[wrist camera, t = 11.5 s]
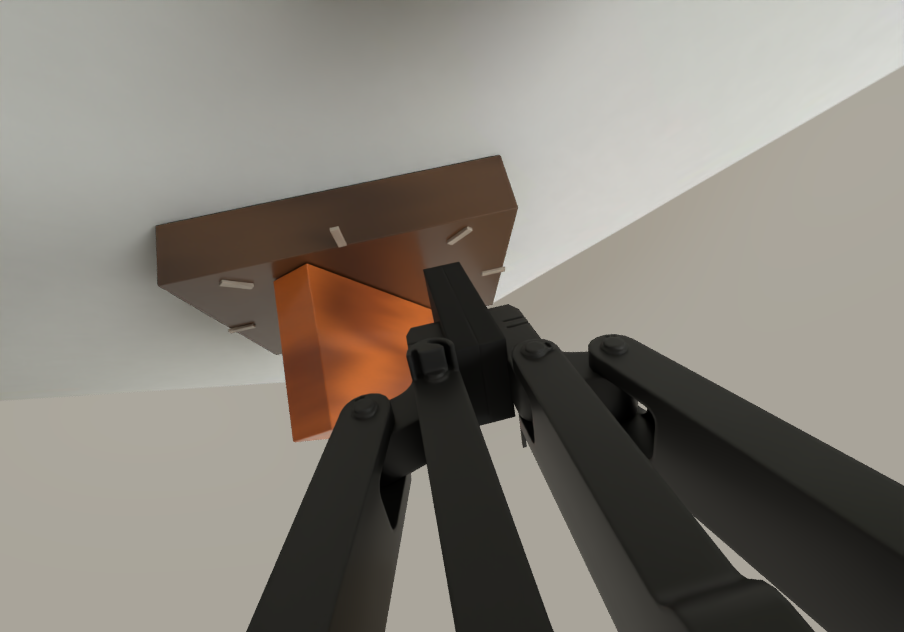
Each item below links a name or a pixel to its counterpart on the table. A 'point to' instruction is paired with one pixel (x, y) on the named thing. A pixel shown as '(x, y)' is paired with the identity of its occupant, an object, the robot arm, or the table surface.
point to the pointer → (339, 345)
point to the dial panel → (342, 242)
